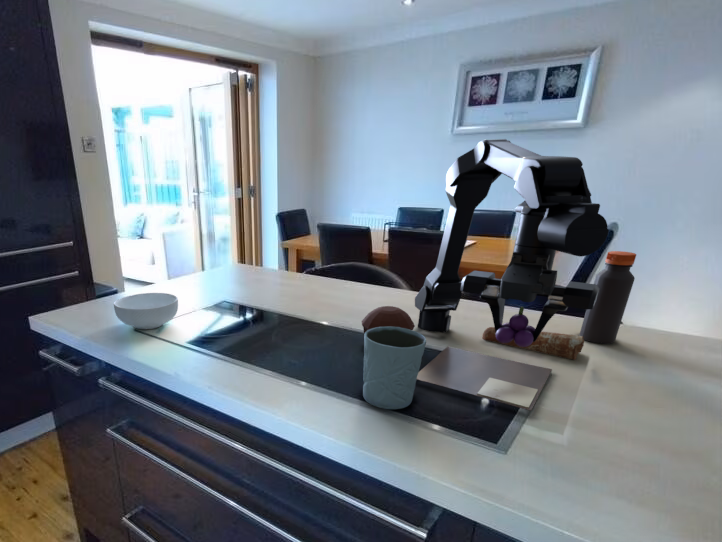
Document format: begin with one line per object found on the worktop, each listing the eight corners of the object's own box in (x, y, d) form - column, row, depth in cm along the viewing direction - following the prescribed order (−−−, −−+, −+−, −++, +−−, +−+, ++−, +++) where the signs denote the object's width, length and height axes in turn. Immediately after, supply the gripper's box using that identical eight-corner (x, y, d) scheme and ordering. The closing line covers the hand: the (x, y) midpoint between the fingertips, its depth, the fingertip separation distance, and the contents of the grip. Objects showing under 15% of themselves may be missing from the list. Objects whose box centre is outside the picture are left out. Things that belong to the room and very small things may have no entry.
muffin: (371, 338, 107) (374, 298, 103) (417, 347, 101) (423, 305, 97) (351, 354, 98) (354, 311, 94) (400, 365, 92) (405, 320, 88)
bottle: (608, 335, 105) (634, 250, 97) (619, 345, 99) (648, 256, 91) (575, 332, 107) (598, 249, 99) (584, 342, 101) (609, 255, 93)
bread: (576, 366, 89) (583, 341, 87) (478, 344, 102) (482, 321, 99) (582, 357, 94) (589, 332, 91) (487, 337, 106) (491, 314, 104)
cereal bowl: (192, 320, 122) (190, 296, 120) (149, 339, 110) (145, 312, 107) (148, 312, 131) (145, 288, 128) (103, 328, 118) (99, 303, 115)
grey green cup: (355, 385, 84) (359, 326, 80) (408, 384, 84) (415, 325, 79) (365, 412, 75) (371, 347, 70) (425, 411, 75) (435, 346, 70)
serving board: (411, 383, 84) (412, 376, 84) (446, 351, 98) (447, 345, 98) (529, 416, 72) (531, 409, 72) (550, 374, 86) (552, 368, 86)
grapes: (492, 343, 75) (499, 308, 72) (500, 333, 79) (507, 299, 76) (529, 350, 72) (538, 314, 69) (536, 340, 75) (544, 305, 73)
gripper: (457, 246, 69) (443, 339, 75) (605, 259, 58) (574, 367, 64) (477, 237, 77) (463, 322, 83) (611, 247, 65) (583, 344, 71)
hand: (515, 337), depth 75 cm, fingers closed on grapes, 5 cm apart
